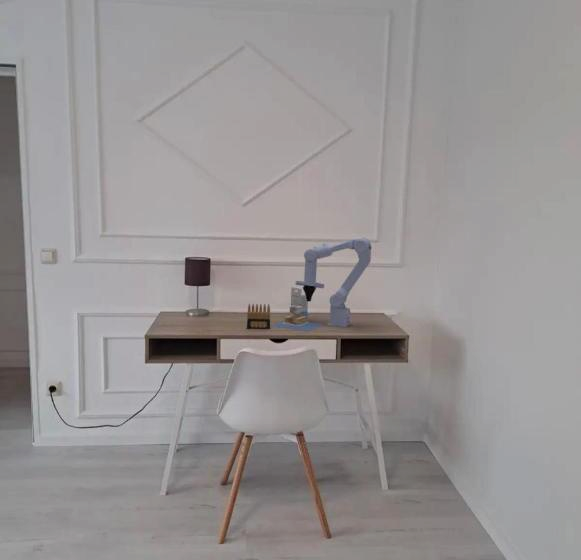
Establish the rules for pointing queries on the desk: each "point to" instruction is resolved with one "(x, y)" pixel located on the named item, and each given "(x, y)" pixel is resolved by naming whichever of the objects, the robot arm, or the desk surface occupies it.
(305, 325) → the board
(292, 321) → the base slab
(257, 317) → the ammunition clip
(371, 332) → the desk surface
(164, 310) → the desk surface
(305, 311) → the ink box
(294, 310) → the top block
